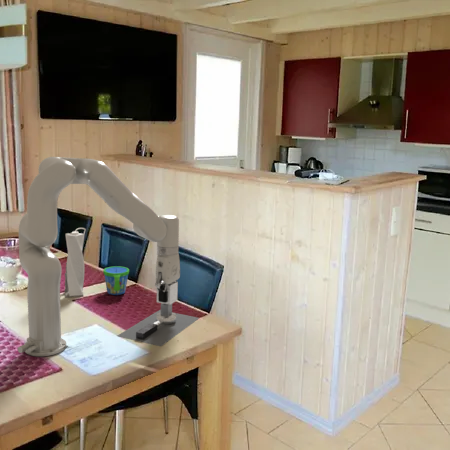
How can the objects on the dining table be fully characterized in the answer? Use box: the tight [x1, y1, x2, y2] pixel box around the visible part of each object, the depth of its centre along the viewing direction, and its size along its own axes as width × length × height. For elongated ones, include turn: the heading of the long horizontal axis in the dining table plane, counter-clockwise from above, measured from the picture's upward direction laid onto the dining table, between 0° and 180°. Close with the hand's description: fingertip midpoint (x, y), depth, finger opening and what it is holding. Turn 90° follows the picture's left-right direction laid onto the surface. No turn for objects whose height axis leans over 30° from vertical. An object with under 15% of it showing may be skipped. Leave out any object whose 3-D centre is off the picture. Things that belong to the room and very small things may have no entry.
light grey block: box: [156, 280, 179, 305], centre depth 184 cm, size 5×5×7 cm
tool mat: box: [117, 309, 200, 347], centre depth 181 cm, size 28×17×1 cm, turn 157°
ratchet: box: [136, 303, 176, 340], centre depth 179 cm, size 21×7×7 cm, turn 157°
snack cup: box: [103, 265, 130, 296], centre depth 216 cm, size 16×10×10 cm
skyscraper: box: [64, 227, 87, 298], centre depth 210 cm, size 8×8×28 cm
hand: (167, 298), depth 184 cm, fingers closed on light grey block, 5 cm apart
